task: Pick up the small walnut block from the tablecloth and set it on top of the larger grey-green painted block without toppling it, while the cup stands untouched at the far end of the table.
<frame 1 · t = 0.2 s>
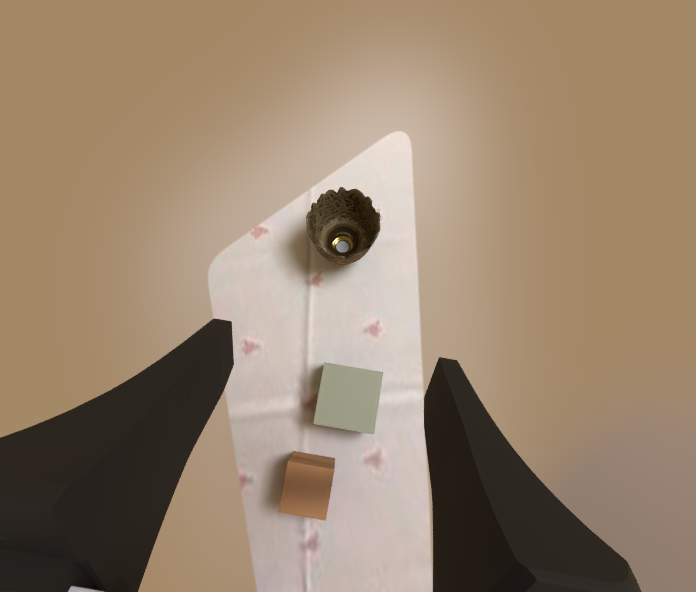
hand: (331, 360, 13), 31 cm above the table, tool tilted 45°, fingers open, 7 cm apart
grey block: (347, 395, 43), on the table
cup: (342, 247, 46), on the table
walnut block: (310, 476, 41), on the table
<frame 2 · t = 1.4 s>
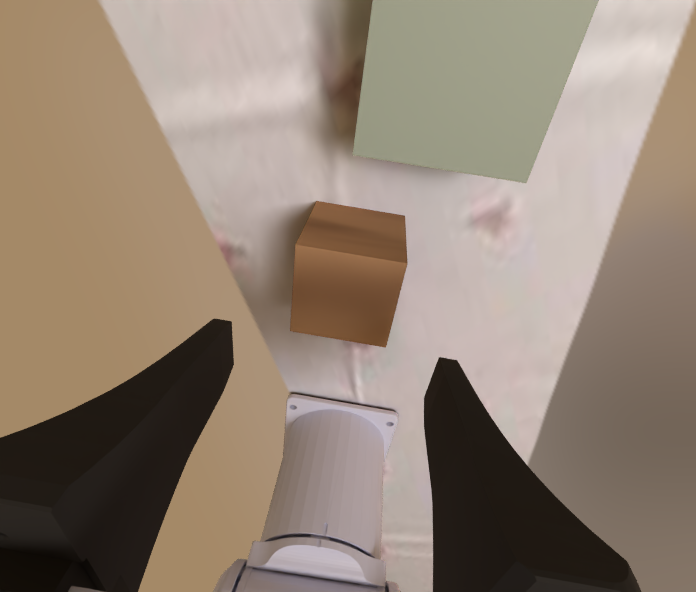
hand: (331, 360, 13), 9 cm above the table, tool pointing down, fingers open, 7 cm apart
grey block: (447, 60, 16), on the table
walnut block: (354, 247, 21), on the table
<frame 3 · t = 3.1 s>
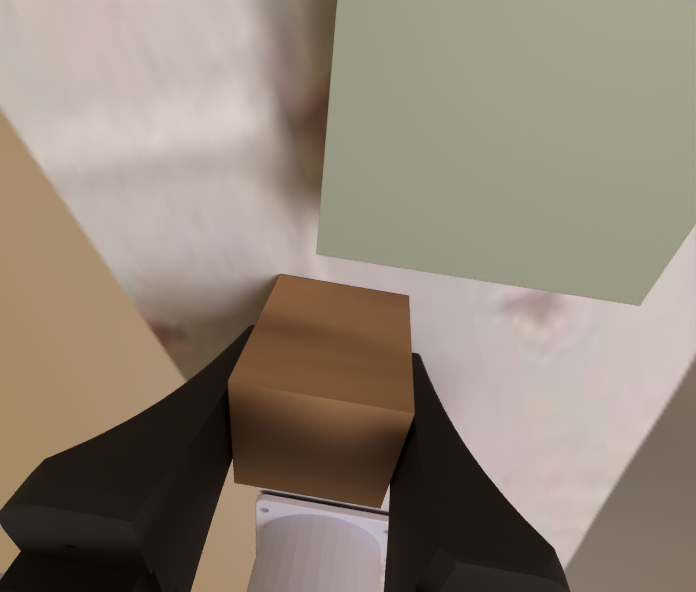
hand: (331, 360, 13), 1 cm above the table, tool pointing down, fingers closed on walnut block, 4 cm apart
grey block: (479, 72, 9), on the table
walnut block: (336, 334, 14), on the table, touching gripper
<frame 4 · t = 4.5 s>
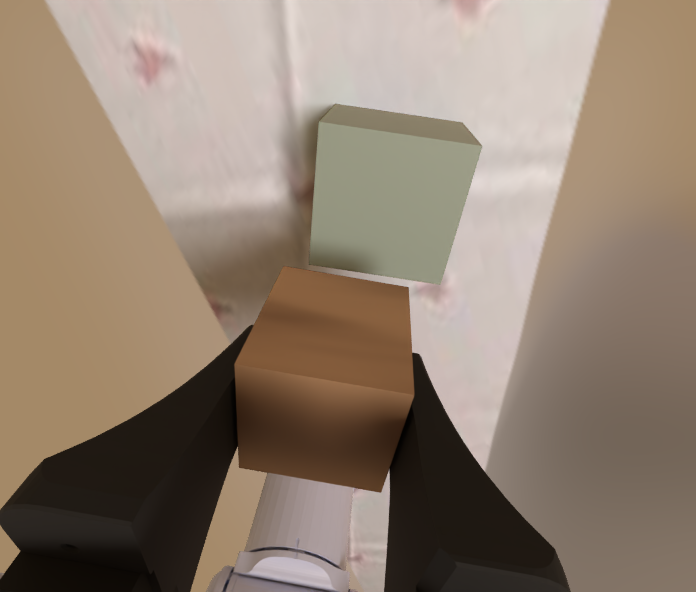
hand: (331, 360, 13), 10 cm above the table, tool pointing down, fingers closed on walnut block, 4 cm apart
grey block: (387, 176, 20), on the table
walnut block: (338, 325, 15), point 8 cm above the table, touching gripper
when the fingers open (8 cm above the table, at t = 6.1 s): walnut block stays where it is, point 5 cm above the table.
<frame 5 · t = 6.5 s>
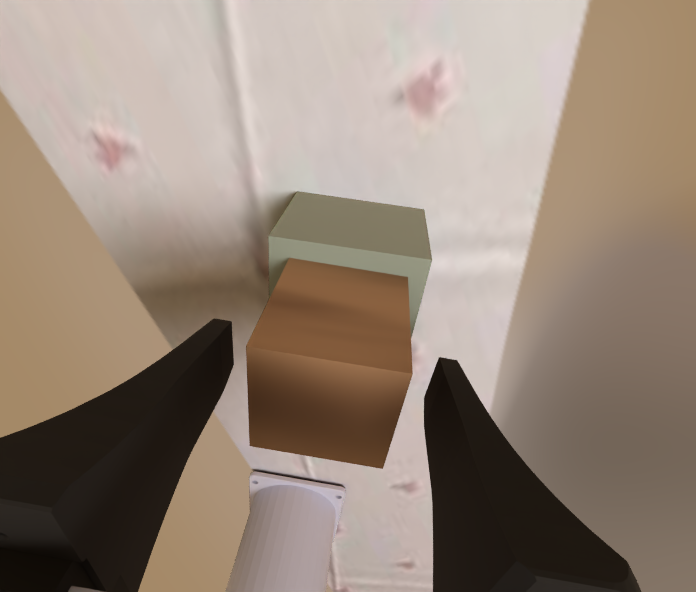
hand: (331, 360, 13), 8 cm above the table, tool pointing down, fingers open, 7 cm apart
grey block: (353, 255, 20), on the table
walnut block: (341, 314, 16), point 5 cm above the table
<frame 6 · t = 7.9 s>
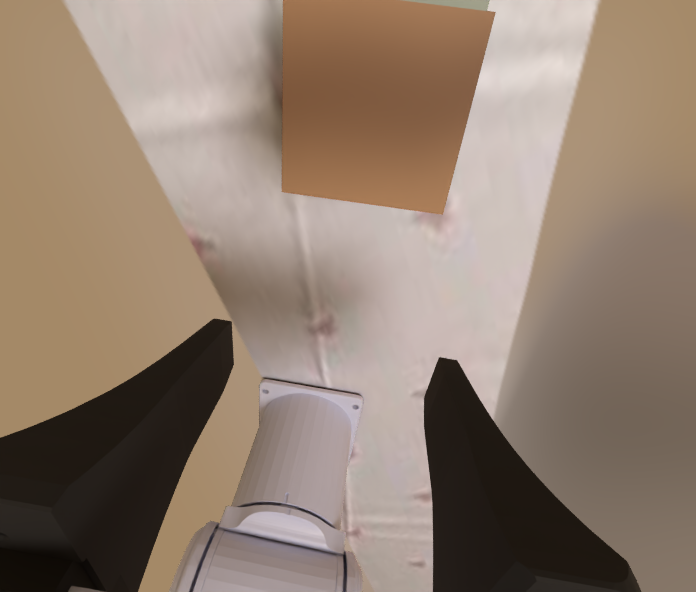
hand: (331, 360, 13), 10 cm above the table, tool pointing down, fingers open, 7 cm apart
grey block: (383, 72, 17), on the table, touching walnut block
walnut block: (380, 90, 13), point 5 cm above the table, touching grey block
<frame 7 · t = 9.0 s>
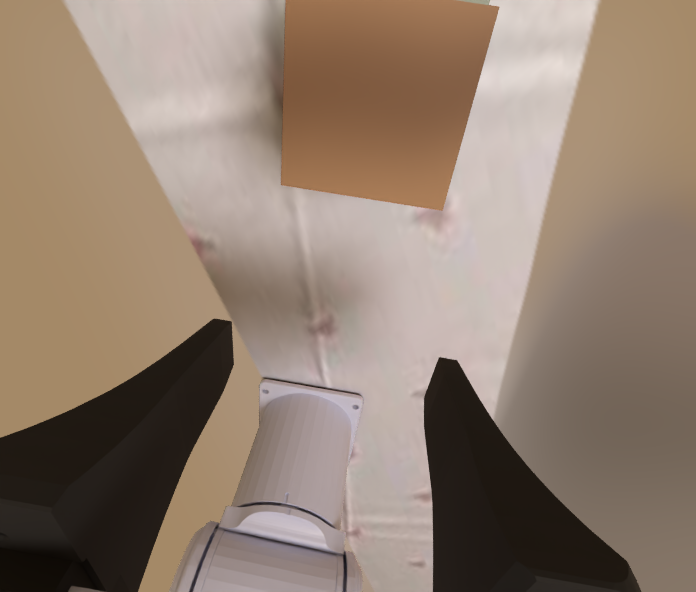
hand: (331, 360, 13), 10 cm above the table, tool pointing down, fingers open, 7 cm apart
walnut block: (381, 86, 13), point 5 cm above the table, touching grey block
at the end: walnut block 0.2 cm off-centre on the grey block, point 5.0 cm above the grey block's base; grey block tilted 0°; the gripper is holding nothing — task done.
